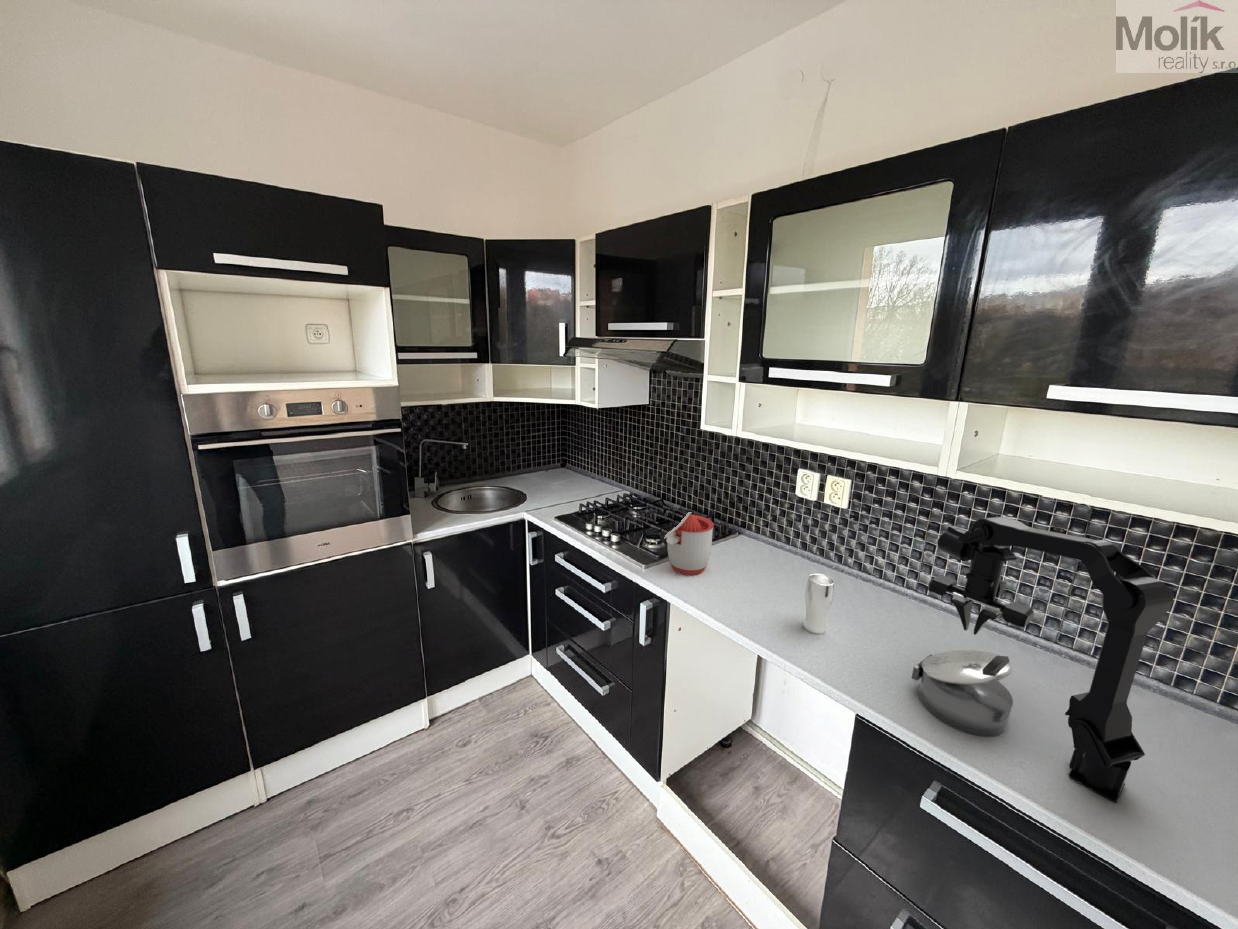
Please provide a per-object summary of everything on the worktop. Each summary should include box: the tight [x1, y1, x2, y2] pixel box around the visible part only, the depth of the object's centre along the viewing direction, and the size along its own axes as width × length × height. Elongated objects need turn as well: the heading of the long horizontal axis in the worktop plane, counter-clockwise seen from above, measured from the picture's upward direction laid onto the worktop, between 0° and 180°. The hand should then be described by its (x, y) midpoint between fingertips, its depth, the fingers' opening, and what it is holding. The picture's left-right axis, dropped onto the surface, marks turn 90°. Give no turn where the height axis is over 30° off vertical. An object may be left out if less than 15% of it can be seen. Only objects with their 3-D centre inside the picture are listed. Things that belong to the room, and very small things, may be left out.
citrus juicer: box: [665, 513, 715, 576], centre depth 165 cm, size 16×17×20 cm
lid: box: [917, 649, 1013, 684], centre depth 104 cm, size 16×16×2 cm
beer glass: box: [802, 573, 835, 635], centre depth 132 cm, size 7×7×15 cm
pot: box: [911, 655, 1014, 738], centre depth 106 cm, size 17×16×6 cm
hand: (970, 631), depth 111 cm, fingers closed
